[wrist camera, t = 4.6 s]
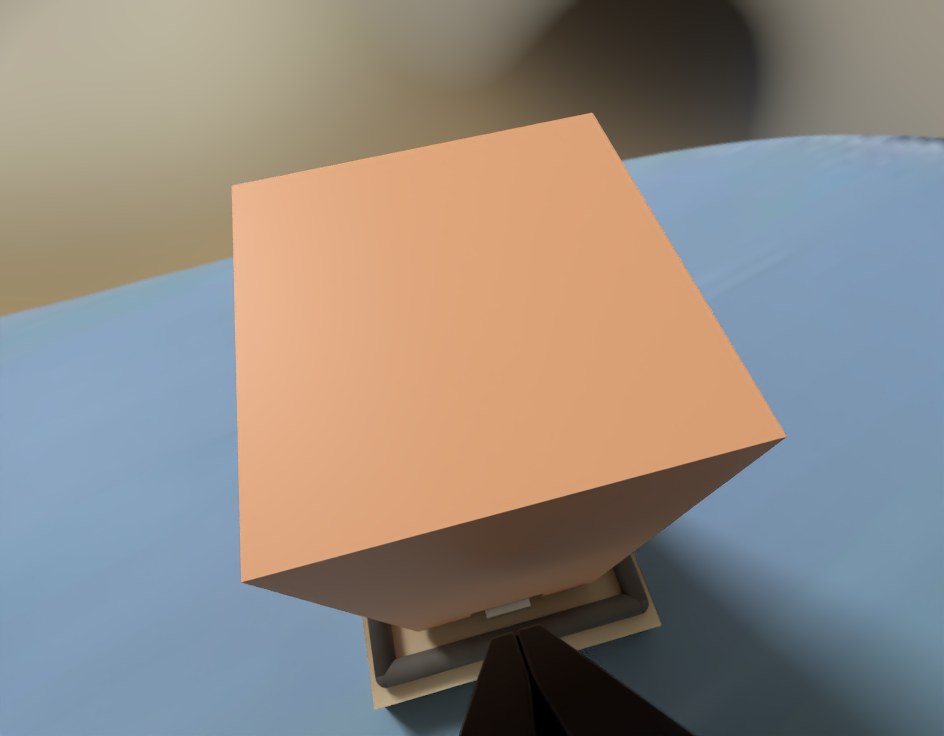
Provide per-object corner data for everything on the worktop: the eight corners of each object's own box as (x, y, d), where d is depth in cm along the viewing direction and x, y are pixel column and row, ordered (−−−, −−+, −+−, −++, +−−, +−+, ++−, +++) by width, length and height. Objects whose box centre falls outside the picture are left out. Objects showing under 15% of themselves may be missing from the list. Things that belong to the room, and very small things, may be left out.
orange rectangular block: (592, 582, 14) (787, 436, 5) (417, 632, 14) (241, 582, 4) (537, 423, 17) (592, 112, 7) (387, 461, 16) (231, 185, 7)
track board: (650, 627, 15) (668, 624, 13) (383, 706, 14) (369, 712, 13) (502, 238, 23) (502, 207, 21) (324, 277, 22) (311, 248, 21)
